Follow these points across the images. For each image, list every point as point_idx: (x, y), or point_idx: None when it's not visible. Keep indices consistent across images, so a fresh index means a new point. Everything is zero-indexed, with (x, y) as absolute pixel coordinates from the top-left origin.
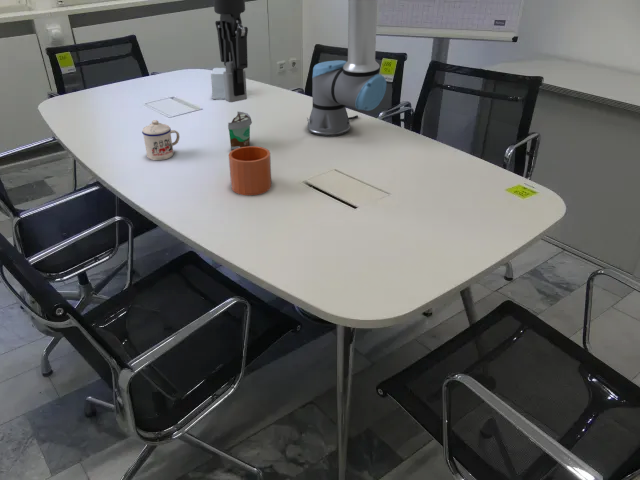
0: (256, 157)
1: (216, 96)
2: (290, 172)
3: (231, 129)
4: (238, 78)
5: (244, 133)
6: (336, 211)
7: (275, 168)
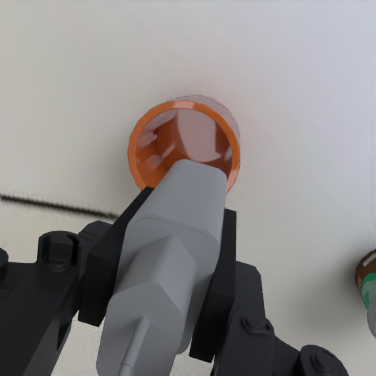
0: None
1: None
2: None
3: None
4: (79, 233)
5: (368, 297)
6: (9, 167)
7: None
